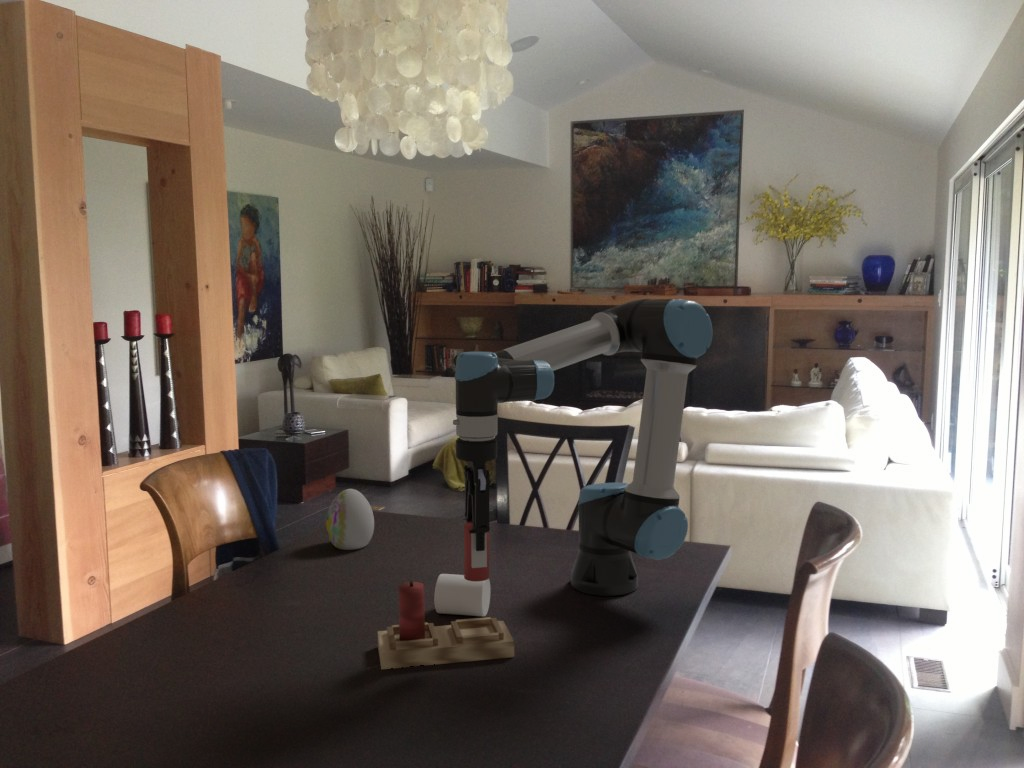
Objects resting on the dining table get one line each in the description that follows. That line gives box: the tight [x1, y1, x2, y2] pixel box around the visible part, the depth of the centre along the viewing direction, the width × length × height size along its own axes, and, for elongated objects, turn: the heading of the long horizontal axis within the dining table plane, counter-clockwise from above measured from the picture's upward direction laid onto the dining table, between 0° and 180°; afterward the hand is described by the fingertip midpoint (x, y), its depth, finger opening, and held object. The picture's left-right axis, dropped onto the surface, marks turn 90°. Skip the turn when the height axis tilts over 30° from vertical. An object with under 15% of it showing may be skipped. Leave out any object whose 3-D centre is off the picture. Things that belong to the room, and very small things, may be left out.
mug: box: [433, 573, 491, 618], centre depth 181 cm, size 12×10×8 cm
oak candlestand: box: [377, 580, 515, 670], centre depth 160 cm, size 24×10×14 cm, turn 102°
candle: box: [463, 521, 490, 581], centre depth 159 cm, size 5×5×11 cm
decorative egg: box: [325, 488, 375, 551], centre depth 225 cm, size 12×12×15 cm
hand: (476, 562), depth 160 cm, fingers closed on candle, 4 cm apart
